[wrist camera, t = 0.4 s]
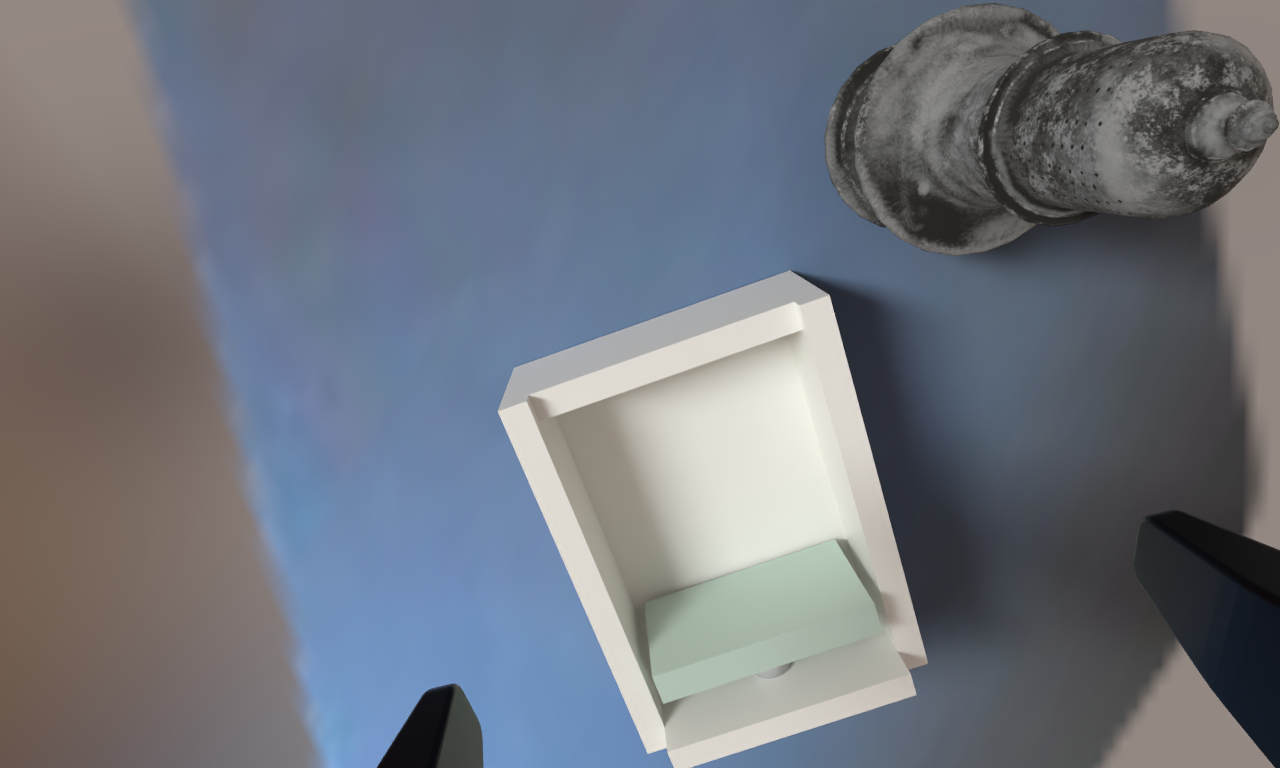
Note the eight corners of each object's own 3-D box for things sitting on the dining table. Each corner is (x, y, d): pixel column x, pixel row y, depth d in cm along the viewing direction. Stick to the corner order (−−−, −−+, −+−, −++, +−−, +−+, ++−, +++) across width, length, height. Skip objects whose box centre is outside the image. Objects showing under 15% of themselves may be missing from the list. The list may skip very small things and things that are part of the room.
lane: (879, 588, 26) (942, 686, 21) (640, 667, 26) (650, 780, 22) (789, 270, 22) (842, 302, 18) (514, 367, 23) (492, 425, 18)
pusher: (842, 564, 24) (882, 632, 21) (654, 626, 25) (663, 704, 21) (834, 539, 24) (874, 604, 21) (644, 602, 24) (651, 677, 21)
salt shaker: (1004, 3, 20) (1519, -182, 9) (1020, 212, 22) (1464, 279, 11) (798, 56, 21) (1051, -60, 9) (831, 260, 22) (1075, 375, 11)
